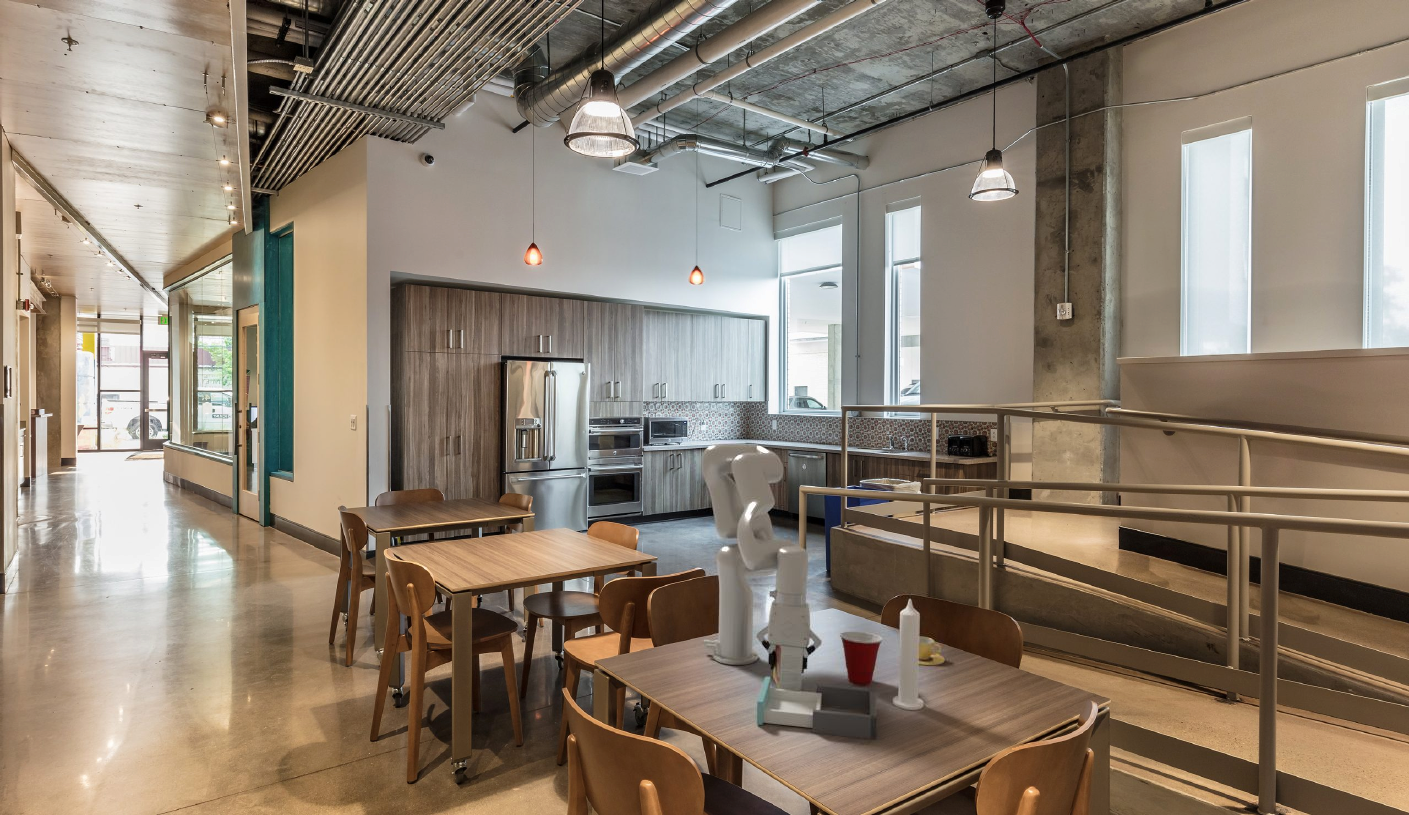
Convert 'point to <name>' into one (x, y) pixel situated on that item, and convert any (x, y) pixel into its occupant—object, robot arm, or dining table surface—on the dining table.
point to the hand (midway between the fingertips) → (787, 668)
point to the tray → (786, 706)
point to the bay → (846, 721)
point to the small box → (788, 667)
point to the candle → (909, 660)
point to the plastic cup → (860, 655)
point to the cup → (929, 651)
